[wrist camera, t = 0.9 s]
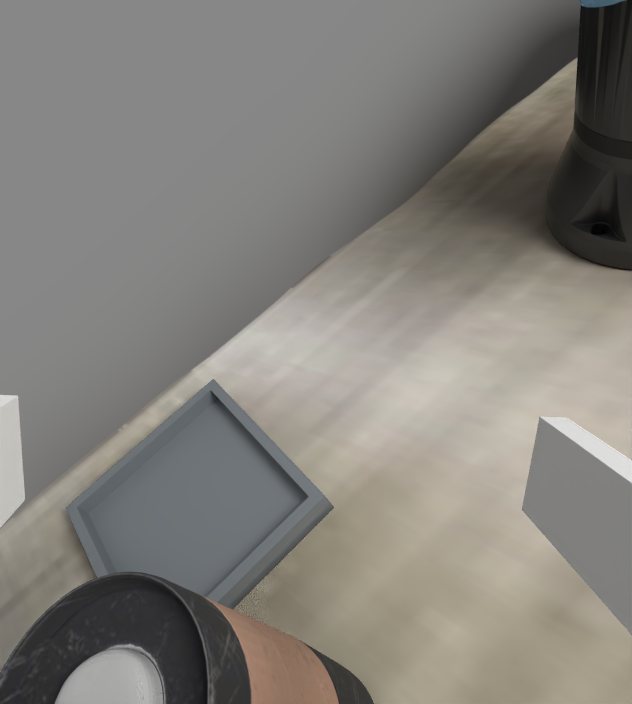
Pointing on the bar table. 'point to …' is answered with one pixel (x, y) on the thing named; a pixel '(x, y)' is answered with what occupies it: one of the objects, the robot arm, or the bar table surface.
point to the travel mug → (164, 653)
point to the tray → (199, 503)
